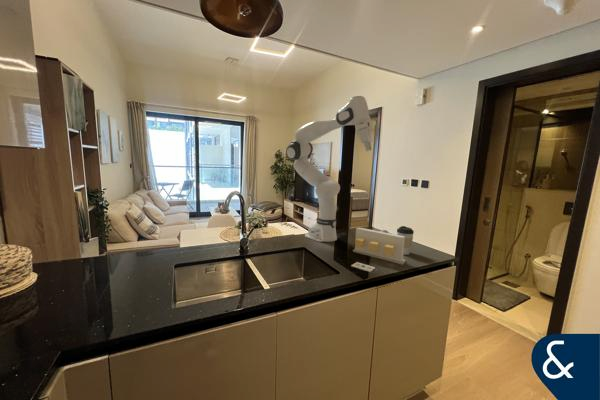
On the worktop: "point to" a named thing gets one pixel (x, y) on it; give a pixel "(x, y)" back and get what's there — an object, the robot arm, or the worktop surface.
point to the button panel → (381, 244)
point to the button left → (360, 243)
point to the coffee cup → (406, 238)
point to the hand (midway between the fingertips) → (369, 150)
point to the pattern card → (363, 266)
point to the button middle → (374, 246)
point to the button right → (389, 249)
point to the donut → (384, 232)
